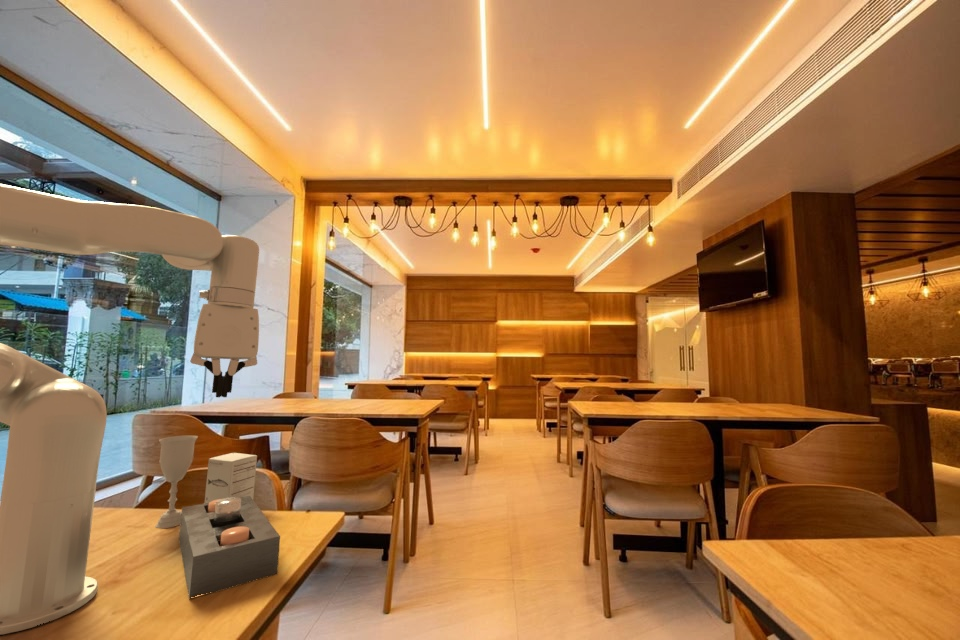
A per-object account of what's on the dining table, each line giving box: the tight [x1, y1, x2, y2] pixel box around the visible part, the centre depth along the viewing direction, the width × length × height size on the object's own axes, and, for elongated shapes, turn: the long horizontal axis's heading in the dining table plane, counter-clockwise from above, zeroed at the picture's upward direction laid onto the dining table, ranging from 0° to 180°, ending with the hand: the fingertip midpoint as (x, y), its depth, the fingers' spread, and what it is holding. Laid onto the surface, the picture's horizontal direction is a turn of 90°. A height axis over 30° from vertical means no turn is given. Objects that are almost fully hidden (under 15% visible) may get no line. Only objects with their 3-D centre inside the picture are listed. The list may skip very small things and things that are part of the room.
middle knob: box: [214, 497, 241, 522], centre depth 74 cm, size 4×4×3 cm
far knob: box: [208, 499, 220, 513], centre depth 80 cm, size 4×4×3 cm
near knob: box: [219, 527, 250, 547], centre depth 67 cm, size 4×4×3 cm
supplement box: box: [203, 452, 258, 504], centre depth 95 cm, size 7×7×13 cm
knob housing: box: [178, 496, 281, 599], centre depth 73 cm, size 12×26×6 cm, turn 40°
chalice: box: [155, 434, 199, 529], centre depth 88 cm, size 7×7×18 cm
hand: (221, 396), depth 75 cm, fingers closed
